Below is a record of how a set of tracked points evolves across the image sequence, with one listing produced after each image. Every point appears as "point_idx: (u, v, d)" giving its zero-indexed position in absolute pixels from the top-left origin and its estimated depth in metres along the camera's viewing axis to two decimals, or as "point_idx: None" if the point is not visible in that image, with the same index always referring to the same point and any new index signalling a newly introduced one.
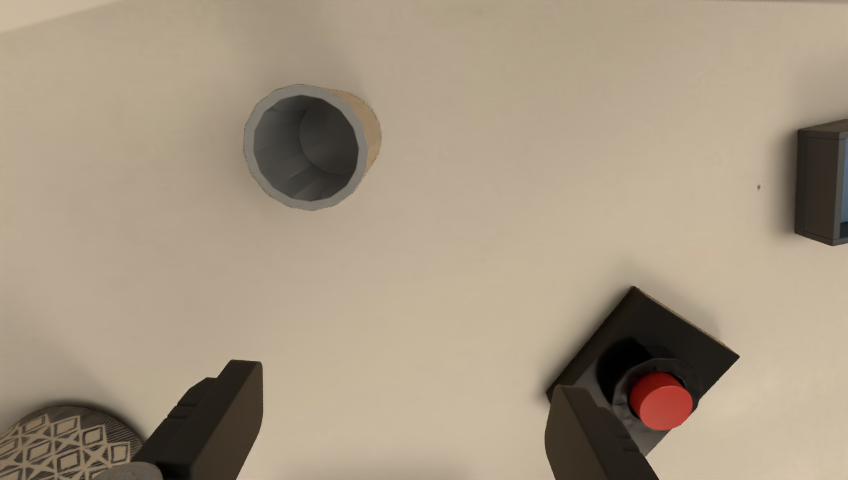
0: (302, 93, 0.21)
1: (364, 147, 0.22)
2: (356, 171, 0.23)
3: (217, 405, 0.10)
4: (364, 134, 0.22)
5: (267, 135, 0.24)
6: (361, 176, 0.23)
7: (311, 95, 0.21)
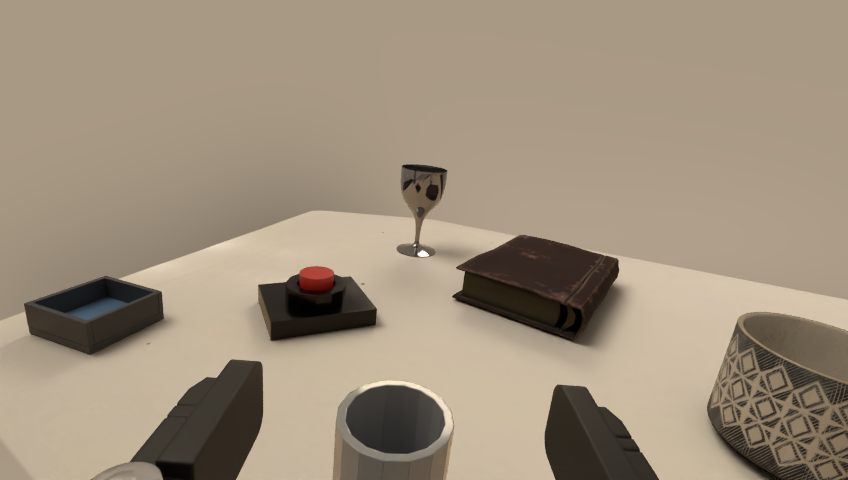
0: (363, 445, 0.21)
1: (351, 394, 0.25)
2: (370, 387, 0.26)
3: (217, 405, 0.10)
4: (343, 401, 0.24)
5: None
6: (370, 383, 0.26)
7: (357, 441, 0.21)
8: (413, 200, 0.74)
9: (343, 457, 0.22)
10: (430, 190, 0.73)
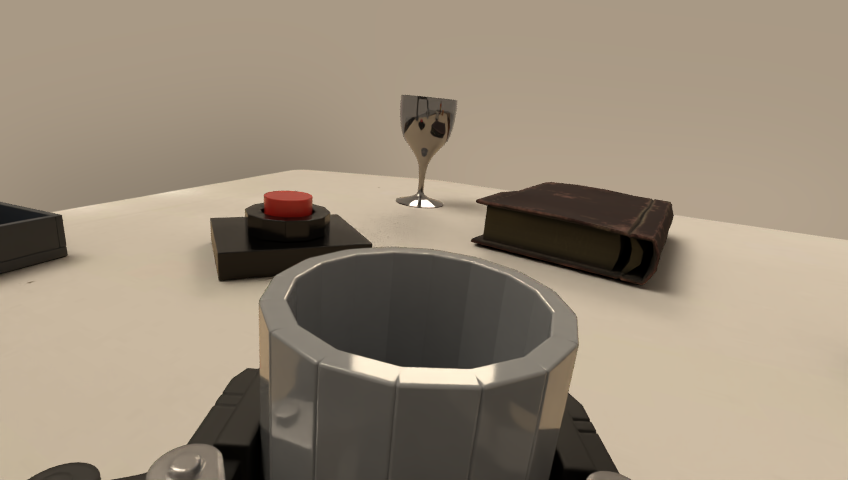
0: (330, 346, 0.07)
1: (310, 260, 0.10)
2: (358, 252, 0.11)
3: None
4: None
5: None
6: (357, 249, 0.11)
7: (314, 337, 0.07)
8: (416, 135, 0.60)
9: (274, 392, 0.07)
10: (436, 121, 0.59)
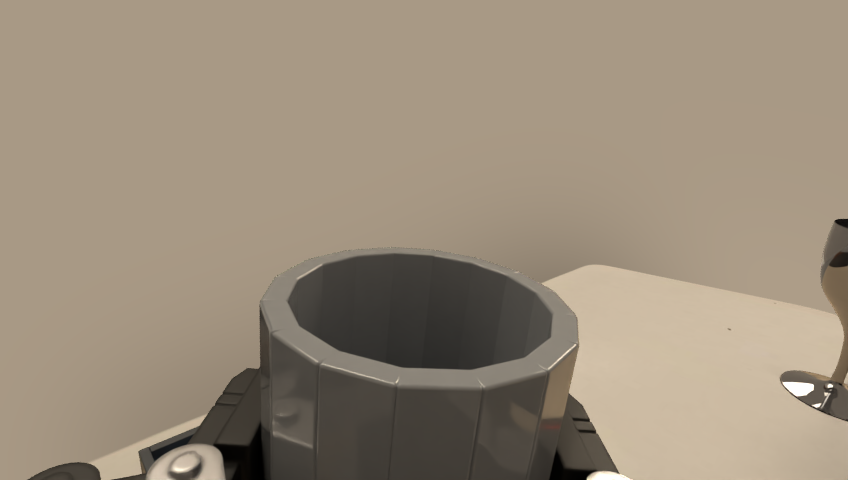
0: (331, 347, 0.07)
1: (311, 261, 0.10)
2: (358, 253, 0.11)
3: None
4: None
5: None
6: (357, 250, 0.11)
7: (315, 338, 0.07)
8: None
9: (275, 392, 0.07)
10: None
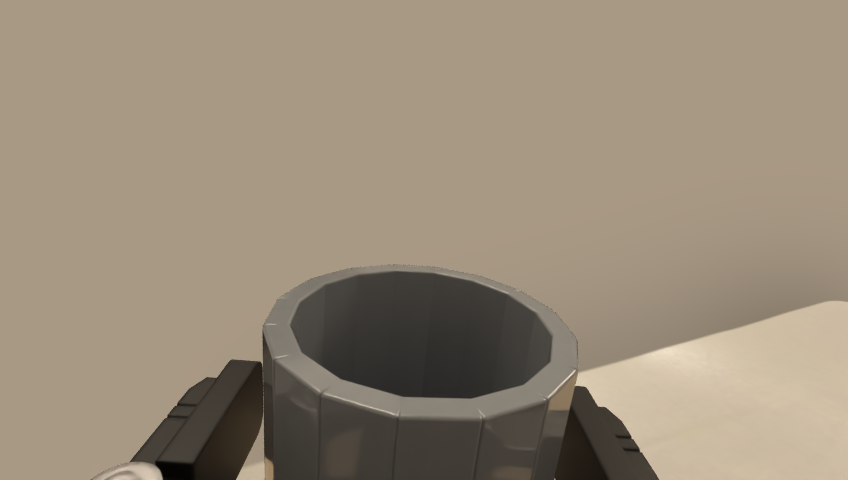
0: (333, 376, 0.07)
1: (313, 281, 0.10)
2: (360, 271, 0.11)
3: (217, 405, 0.10)
4: None
5: None
6: (359, 268, 0.12)
7: (317, 365, 0.07)
8: None
9: (278, 418, 0.07)
10: None
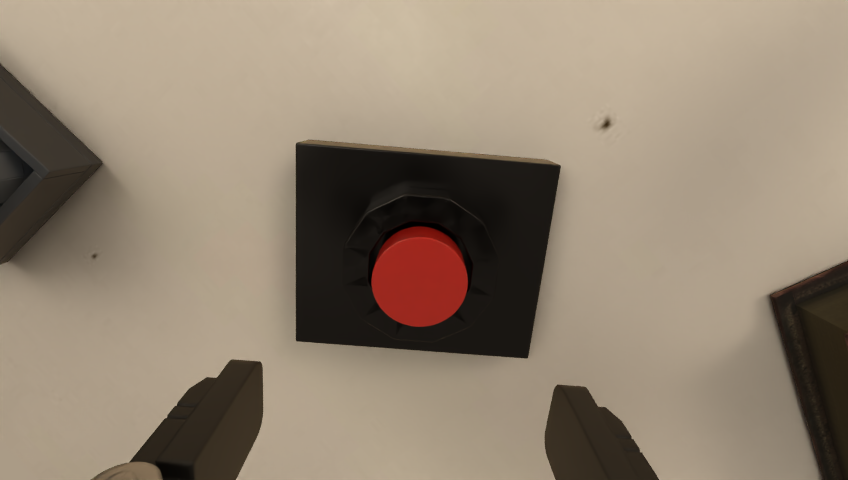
0: None
1: None
2: None
3: (217, 405, 0.10)
4: None
5: None
6: None
7: None
8: None
9: None
10: None
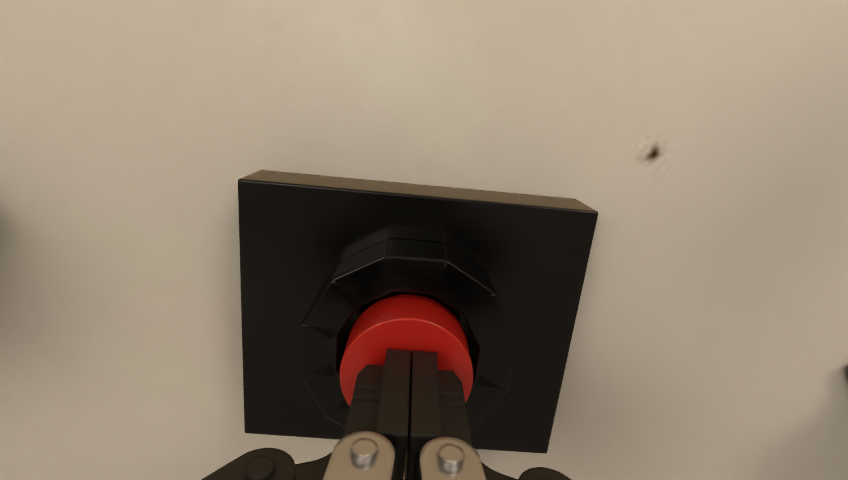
0: None
1: None
2: None
3: (399, 387, 0.11)
4: None
5: None
6: None
7: None
8: None
9: None
10: None
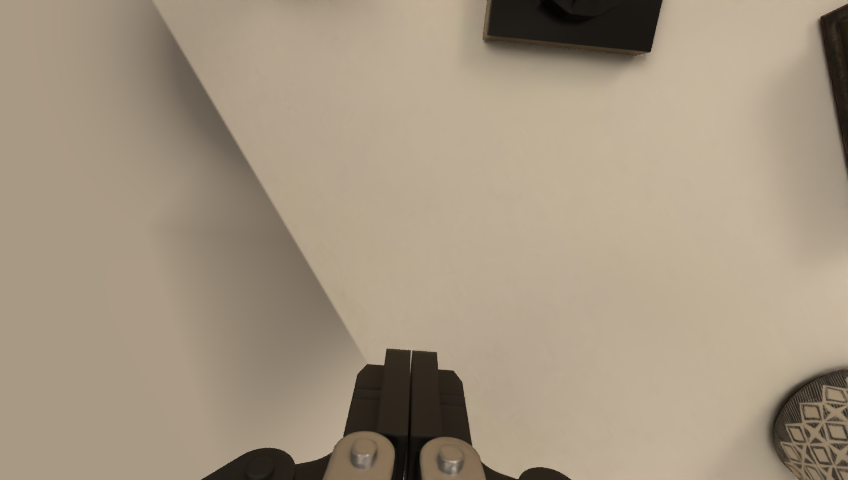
0: None
1: None
2: None
3: (399, 387, 0.11)
4: None
5: None
6: None
7: None
8: None
9: None
10: None
